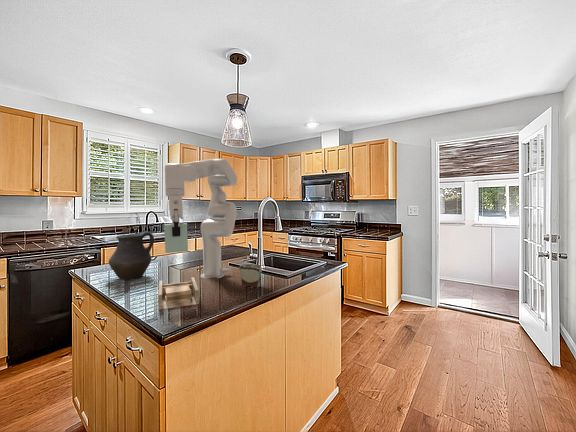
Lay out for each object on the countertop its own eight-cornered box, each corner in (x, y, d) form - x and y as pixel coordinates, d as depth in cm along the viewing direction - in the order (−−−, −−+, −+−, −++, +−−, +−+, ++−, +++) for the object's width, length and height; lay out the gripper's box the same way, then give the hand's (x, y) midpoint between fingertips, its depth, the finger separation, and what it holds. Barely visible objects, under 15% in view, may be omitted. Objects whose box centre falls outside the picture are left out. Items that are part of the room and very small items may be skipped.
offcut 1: (188, 289, 119) (188, 285, 119) (190, 294, 113) (190, 290, 113) (165, 292, 115) (165, 288, 115) (166, 297, 109) (166, 293, 109)
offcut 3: (188, 296, 120) (188, 292, 119) (190, 301, 113) (190, 297, 113) (165, 299, 116) (165, 295, 115) (166, 305, 109) (166, 301, 109)
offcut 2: (190, 292, 120) (190, 288, 120) (191, 297, 113) (191, 294, 113) (167, 295, 116) (167, 291, 116) (166, 300, 110) (166, 296, 110)
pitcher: (110, 275, 158) (108, 231, 156) (153, 270, 168) (152, 229, 167) (108, 285, 140) (106, 235, 138) (156, 279, 150) (155, 232, 149)
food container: (266, 285, 140) (266, 265, 139) (260, 288, 134) (260, 268, 134) (245, 282, 145) (245, 262, 145) (239, 285, 140) (238, 265, 139)
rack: (194, 292, 130) (193, 277, 129) (199, 307, 111) (198, 290, 111) (159, 296, 124) (159, 280, 123) (159, 313, 106) (158, 295, 105)
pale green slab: (187, 250, 125) (186, 223, 124) (188, 251, 123) (187, 223, 122) (165, 252, 121) (164, 224, 120) (165, 253, 119) (164, 224, 118)
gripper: (185, 192, 114) (186, 237, 116) (183, 193, 129) (184, 233, 130) (165, 192, 111) (166, 238, 113) (165, 193, 126) (166, 234, 127)
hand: (176, 235), depth 121 cm, fingers closed on pale green slab, 2 cm apart
